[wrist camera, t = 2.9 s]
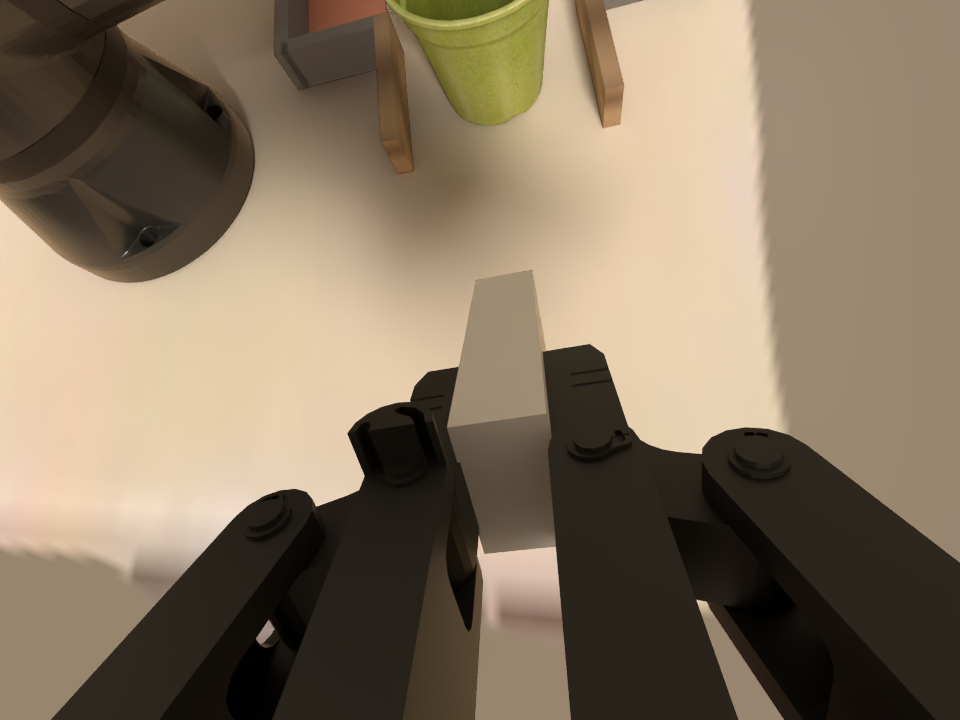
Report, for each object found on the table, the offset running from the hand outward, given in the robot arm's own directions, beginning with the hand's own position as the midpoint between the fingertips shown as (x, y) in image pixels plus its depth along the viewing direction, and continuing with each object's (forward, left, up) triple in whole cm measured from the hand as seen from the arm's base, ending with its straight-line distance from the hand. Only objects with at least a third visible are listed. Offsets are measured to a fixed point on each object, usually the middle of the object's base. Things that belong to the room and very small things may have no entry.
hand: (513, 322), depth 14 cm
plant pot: (-9, +20, -14) cm, 26 cm away
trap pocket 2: (-23, +24, -14) cm, 36 cm away
